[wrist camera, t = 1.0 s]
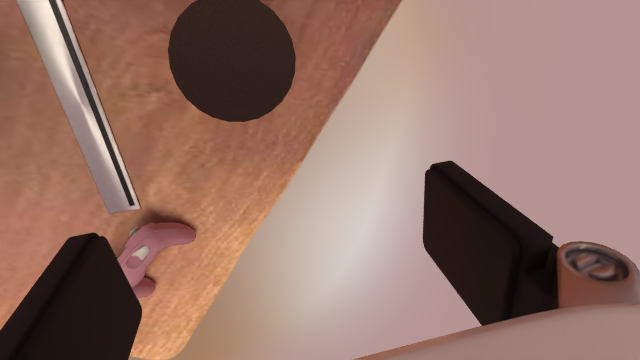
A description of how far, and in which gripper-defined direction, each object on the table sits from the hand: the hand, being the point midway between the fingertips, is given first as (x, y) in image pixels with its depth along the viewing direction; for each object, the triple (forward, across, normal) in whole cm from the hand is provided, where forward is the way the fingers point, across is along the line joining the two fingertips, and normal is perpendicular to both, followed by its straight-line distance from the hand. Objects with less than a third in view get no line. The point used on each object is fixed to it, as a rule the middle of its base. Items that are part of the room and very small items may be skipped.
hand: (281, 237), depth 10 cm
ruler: (+24, +15, 0) cm, 29 cm away
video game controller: (+25, +14, +16) cm, 33 cm away
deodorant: (+25, +1, -4) cm, 25 cm away
